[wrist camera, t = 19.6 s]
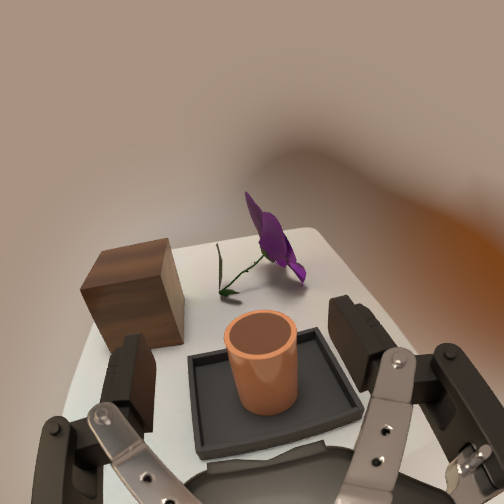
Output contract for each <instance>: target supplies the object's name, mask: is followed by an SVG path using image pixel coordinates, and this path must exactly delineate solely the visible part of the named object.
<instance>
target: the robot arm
mask: <svg viewBox="0 0 504 504" xmlns="http://www.w3.org/2000/svg"><path fill="white" fill-rule="evenodd" d="M328 331H329V335H330V338H331V340H332V342H333V344H334V346H335V347H336V349H337V351H338V353H339V355H340V357H341V358H342V360H343V362H344V364H345V366H346V368H347V370H348V372H349V373H350V375H351V377H352V379H353V381H354V383H355V385H356V387H357V388H358V390H359V392H360V393H361V392H364V391H367V390H369V392H370V394H371V397H370V400H369V403H368V407H367V410H366V413H365V416H364V420H363V423H362V426H361V429H360V432H359V435H358V437H357V440H356V443H355V446H354V448H353V450H352V449H349V448H345V447H339V446H326V445H325V443H324V440H321V441H317V442H314V443H310V444H306V445H302V446H299V447H295V448H293V449H291V450H289V451H287V452H285V453H283V454H280V455H278V456H276V457H274V458H272V459H269V460H240V459H233V460H226V461H219V462H210V463H207V470H205V471H203V472H201V473H198V474H196V475H195V476H193V477H192V478H190V479H189V480H188V481H186V482H185V483H184V484H183V483H182V482H181V481H180V480H179V479H178V478H177V477H176V476H175V475H174V474H173V473H172V472H171V471H170V470H169V469H168V468H167V467H166V466H165V464H164V463H163V462H162V461H161V460H160V459H159V458H158V457H157V456H156V454H155V453H154V452H153V451H152V450H151V449H150V448H149V446H148V445H147V444H146V443H145V442H144V433H149V432H153V415H154V397H155V382H156V362H155V359H154V356H153V354H152V352H151V349H150V347H149V345H148V343H147V340H146V338H145V336H144V334H143V333H134V334H126V335H125V337H124V340H123V345H122V347H116V349H115V350H114V352H113V353H112V354H111V356H110V359H109V363H108V368H107V371H106V376H105V380H104V385H103V389H102V394H101V399H100V403H99V404H97V405H95V406H94V407H93V408H92V409H91V410H90V411H89V413H88V416H87V417H86V418H83V419H80V420H77V421H73V422H69V421H68V420H67V419H66V418H64V417H62V416H54V417H52V418H50V419H49V420H47V421H46V423H45V424H44V426H43V428H42V433H41V438H40V443H39V448H38V454H37V460H36V466H35V473H34V481H33V489H32V500H31V504H103V466H104V465H106V464H109V463H110V464H111V466H112V468H113V470H114V471H115V472H116V474H117V475H118V477H119V478H120V479H121V481H122V482H123V483H124V485H125V486H126V487H127V489H128V490H129V491H130V493H131V494H132V495H133V496H134V498H135V499H136V500H137V501H138V503H139V504H484V503H486V502H487V501H489V500H491V499H492V498H494V497H495V496H497V495H498V494H500V493H502V492H503V491H504V408H503V406H502V405H501V403H500V402H499V400H498V399H497V397H496V396H495V394H494V393H493V391H492V390H491V389H490V387H489V386H488V384H487V383H486V381H485V380H484V379H483V377H482V376H481V375H480V373H479V372H478V370H477V369H476V368H475V366H474V365H473V364H472V362H471V361H470V360H469V358H468V357H467V356H466V355H465V353H464V352H463V351H462V350H461V348H459V347H458V346H456V345H455V344H451V343H443V344H440V345H439V346H437V347H436V349H435V351H434V354H426V355H414V354H413V353H412V352H411V351H409V350H408V349H405V348H402V347H397V345H396V344H395V343H394V341H393V340H392V339H391V337H390V336H389V334H388V333H387V332H386V330H385V329H384V328H383V326H382V325H380V322H379V321H378V320H377V319H376V318H375V316H374V315H373V313H372V312H371V311H370V309H368V308H367V307H365V306H363V305H362V304H360V303H359V304H356V305H355V304H354V303H353V302H352V300H351V299H350V298H349V296H348V295H344V296H339V297H335V298H331V299H330V300H329V313H328ZM413 404H419V406H420V407H421V409H422V411H423V413H424V415H425V417H426V418H427V420H428V422H429V424H430V426H431V428H432V430H433V432H434V434H435V436H436V437H437V439H438V441H439V443H440V445H441V447H442V449H443V451H444V453H445V455H446V457H447V459H448V461H449V463H450V464H449V465H448V467H447V469H446V472H445V478H446V483H447V490H446V492H445V491H443V490H441V489H439V488H436V487H433V486H431V485H429V484H426V483H424V482H421V481H419V480H417V479H414V478H412V477H410V476H407V475H405V474H403V473H400V472H399V469H400V465H401V461H402V457H403V453H404V449H405V445H406V441H407V436H408V432H409V427H410V422H411V416H412V411H413Z"/></svg>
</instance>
